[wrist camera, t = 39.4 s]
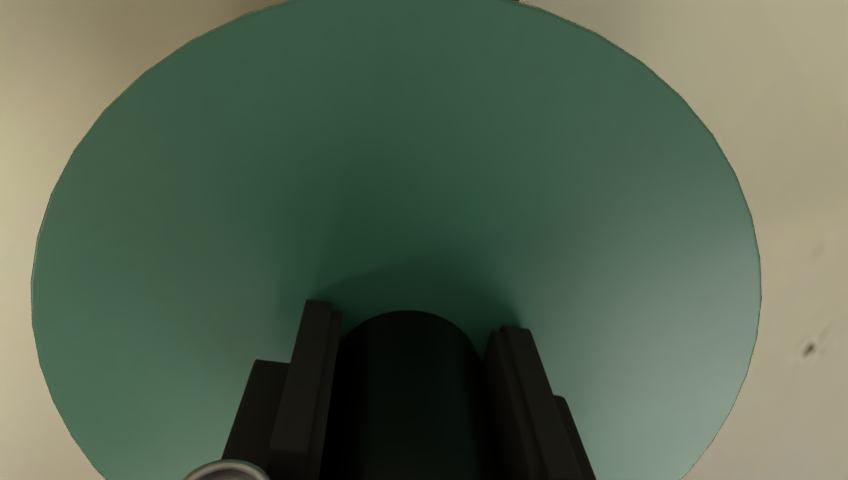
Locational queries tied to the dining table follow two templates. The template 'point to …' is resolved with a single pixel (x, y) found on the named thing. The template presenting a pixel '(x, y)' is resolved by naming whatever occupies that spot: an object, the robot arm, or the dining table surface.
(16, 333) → the dining table surface
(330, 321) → the robot arm
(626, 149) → the lid
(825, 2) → the dining table surface
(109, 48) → the dining table surface
